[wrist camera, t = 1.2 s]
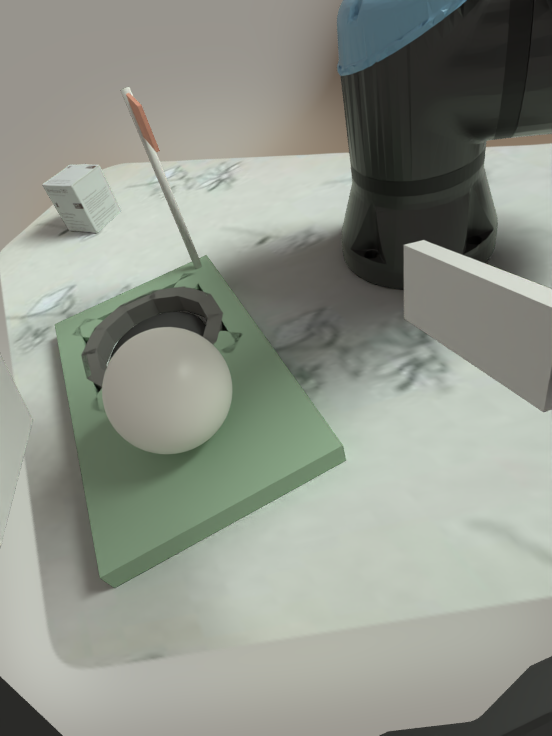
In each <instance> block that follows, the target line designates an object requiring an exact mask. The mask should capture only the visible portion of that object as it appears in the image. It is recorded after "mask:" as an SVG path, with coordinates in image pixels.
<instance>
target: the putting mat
mask: <svg viewBox="0 0 552 736" xmlns="http://www.w3.org/2000/svg"><path fill="white" fill-rule="evenodd" d="M121 93H122V95H123V98H124V100H125V103H126V105H127V107H128V109H129V112H130V114H131V117H132V119H133V122H134V124H135V126H136V128H137V131H138V133H139V136H140V138H141V141H142V143H143V145H144V148H145V150H146V152H147V155H148V157H149V160H150V162H151V164H152V167H153V169H154V172H155V174H156V176H157V179H158V181H159V183H160V186H161V188H162V191H163V193H164V195H165V198H166V200H167V202H168V205H169V207H170V210H171V212H172V214H173V217H174V219H175V221H176V224H177V226H178V229H179V231H180V233H181V236H182V238H183V240H184V243H185V245H186V248H187V250H188V252H189V255H190V257H191V260H192V262H190V263H188V264H186V265H184V266H181V267H179V268H177V269H175V270H173V271H170V272H168V273H166V274H164V275H162V276H159V277H157V278H155V279H153V280H151V281H149V282H146V283H144V284H142V285H140V286H138V287H135V288H133V289H131V290H129V291H127V292H124V293H122V294H120V295H118V296H116V297H114V298H111V299H109V300H107V301H105V302H103V303H100V304H98V305H96V306H94V307H92V308H89V309H87V310H85V311H83V312H81V313H79V314H76V315H74V316H72V317H70V318H68V319H65V320H63V321H61V322H59V323H57V324H55V329H56V335H57V340H58V346H59V351H60V357H61V363H62V368H63V374H64V380H65V385H66V391H67V396H68V402H69V408H70V413H71V419H72V424H73V430H74V436H75V441H76V447H77V453H78V458H79V464H80V469H81V475H82V481H83V486H84V492H85V497H86V503H87V509H88V514H89V520H90V525H91V531H92V537H93V542H94V548H95V554H96V559H97V565H98V570H99V576H100V578H101V579H102V580H104V581H105V582H106V583H108V584H109V585H111V586H112V587H113V588H116V587H117V586H119V585H121V584H123V583H125V582H126V581H128V580H130V579H132V578H134V577H135V576H137V575H139V574H141V573H143V572H145V571H146V570H148V569H150V568H152V567H154V566H155V565H157V564H159V563H161V562H163V561H164V560H166V559H168V558H170V557H172V556H174V555H175V554H177V553H179V552H181V551H183V550H184V549H186V548H188V547H190V546H192V545H193V544H195V543H197V542H199V541H201V540H203V539H204V538H206V537H208V536H210V535H212V534H213V533H215V532H217V531H219V530H221V529H222V528H224V527H226V526H228V525H230V524H232V523H233V522H235V521H237V520H239V519H241V518H242V517H244V516H246V515H248V514H250V513H251V512H253V511H255V510H257V509H259V508H261V507H262V506H264V505H266V504H268V503H270V502H271V501H273V500H275V499H277V498H279V497H281V496H282V495H284V494H286V493H288V492H290V491H291V490H293V489H295V488H297V487H299V486H300V485H302V484H304V483H306V482H308V481H310V480H311V479H313V478H315V477H317V476H319V475H320V474H322V473H324V472H326V471H328V470H329V469H331V468H333V467H335V466H337V465H339V464H340V463H342V462H344V461H346V458H345V453H344V448H343V445H342V443H341V442H340V441H339V439H338V438H337V436H336V435H335V434H334V432H333V431H332V429H331V428H330V427H329V425H328V424H327V423H326V421H325V420H324V418H323V417H322V416H321V414H320V413H319V411H318V410H317V409H316V407H315V406H314V404H313V403H312V402H311V400H310V399H309V397H308V396H307V395H306V393H305V392H304V390H303V389H302V388H301V386H300V385H299V383H298V382H297V381H296V379H295V378H294V376H293V375H292V374H291V372H290V371H289V369H288V368H287V367H286V365H285V364H284V363H283V361H282V360H281V358H280V357H279V356H278V354H277V353H276V351H275V350H274V349H273V347H272V346H271V344H270V343H269V342H268V340H267V339H266V337H265V336H264V335H263V333H262V332H261V330H260V329H259V328H258V326H257V325H256V323H255V322H254V321H253V319H252V318H251V316H250V315H249V314H248V312H247V311H246V309H245V308H244V307H243V305H242V304H241V302H240V301H239V300H238V298H237V297H236V296H235V294H234V293H233V291H232V290H231V289H230V287H229V286H228V284H227V283H226V282H225V280H224V279H223V277H222V276H221V275H220V273H219V272H218V270H217V269H216V268H215V266H214V265H213V263H212V262H211V261H210V259H209V258H208V256H207V255H205V256H203V257H201V258H199V257H198V255H197V252H196V250H195V247H194V245H193V242H192V240H191V237H190V235H189V232H188V230H187V228H186V225H185V223H184V220H183V218H182V215H181V213H180V210H179V208H178V205H177V203H176V200H175V198H174V195H173V193H172V191H171V188H170V186H169V183H168V181H167V178H166V176H165V173H164V171H163V168H162V166H161V163H160V161H159V159H158V156H157V154H156V152H158V151H160V150H159V148H158V145H157V143H156V140H155V138H154V135H153V133H152V131H151V128H150V125H149V123H148V120H147V118H146V115H145V113H144V111H143V108H142V106H141V104H140V103H139V102H138V101H137V100H136V99H135V98H134V97H133V94H132V92H131V90H130V87H126V88H123V89H122V90H121ZM183 310H186V311H189V312H192V313H195V314H198V315H201V316H204V317H205V318H206V319H207V323H206V327H205V325H204V323H203V322H202V321H201V320H200V319H199V318H198V317H196V316H195V315H193V314H190V313H186V312H175V311H183ZM166 312H167V313H166ZM159 313H162V314H159ZM157 314H158V315H157ZM136 324H137V325H136ZM134 325H135V326H134ZM133 326H134V327H133ZM132 327H133V328H132ZM161 327H175V328H182V329H186V330H189V331H192V332H194V333H196V334H198V335H200V336H202V337H204V338H205V339H207V340H208V341H209V342H210V343H211V344H212V345H214V346H215V347H216V348H217V350H218V351H219V352H220V354H221V355H222V356H223V358H224V360H225V362H226V364H227V366H228V368H229V371H230V375H231V379H232V401H231V405H230V409H229V412H228V414H227V417H226V419H225V420H224V422H223V424H222V425H221V427H220V428H219V430H218V431H217V432H216V433H215V434H214V435H213V436H212V437H211V438H210V439H209V440H207V441H206V442H205V443H203V444H201V445H200V446H198V447H196V448H194V449H192V450H189V451H186V452H182V453H177V454H156V453H151V452H147V451H144V450H142V449H139V448H137V447H135V446H133V445H132V444H130V443H129V442H128V441H126V440H125V439H124V438H123V437H122V436H121V435H120V434H119V433H118V432H117V431H116V430H115V429H114V427H113V426H112V424H111V423H110V421H109V419H108V417H107V414H106V412H105V409H104V404H103V399H102V384H103V378H104V374H105V371H106V368H107V366H106V363H107V361H108V359H109V356H110V354H111V352H112V349H113V347H114V345H115V343H116V342H117V341H118V340H119V339H120V338H121V337H122V338H121V339H120V340H119V341H118V343H117V344H116V346H115V348H114V350H113V352H112V355H111V358H112V357H113V355H114V354H115V353H116V351H117V350H118V349H119V348H120V347H121V346H122V345H123V344H124V343H125V342H126V341H128V340H129V339H130V338H132V337H134V336H135V335H137V334H139V333H141V332H144V331H147V330H150V329H154V328H161Z"/></svg>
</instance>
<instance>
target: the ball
mask: <svg viewBox="0 0 552 736" xmlns="http://www.w3.org/2000/svg"><path fill="white" fill-rule="evenodd" d="M102 399H103V404H104V409H105V412H106V414H107V417H108V419H109V421H110V423H111V424H112V426H113V427H114V429H115V430H116V431H117V432H118V433H119V434H120V435H121V436H122V437H123V438H124V439H125V440H126V441H128V442H129V443H130V444H132V445H133V446H135V447H137V448H139V449H142V450H144V451H147V452H151V453H156V454H177V453H182V452H186V451H189V450H192V449H194V448H196V447H198V446H200V445H201V444H203V443H205V442H206V441H207V440H209V439H210V438H211V437H212V436H213V435H214V434H215V433H216V432H217V431H218V430H219V428H220V427H221V425H222V424H223V422H224V420H225V419H226V417H227V414H228V412H229V409H230V405H231V401H232V379H231V375H230V371H229V368H228V366H227V364H226V362H225V360H224V358H223V356H222V355H221V354H220V352H219V351H218V350H217V348H216V347H215V346H214V345H212V344H211V343H210V342H209V341H208V340H207V339H205V338H204V337H202V336H200V335H198V334H196V333H194V332H192V331H189V330H186V329H182V328H175V327H161V328H154V329H150V330H147V331H144V332H141V333H139V334H137V335H135V336H134V337H132V338H130V339H129V340H128V341H126V342H125V343H124V344H123V345H122V346H121V347H120V348H119V349H118V350H117V351H116V353H115V354H114V355H113V357H112V358H111V360H110V362H109V364H108V366H107V368H106V371H105V374H104V378H103V384H102Z"/></svg>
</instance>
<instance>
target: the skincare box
mask: <svg viewBox="0 0 552 736" xmlns="http://www.w3.org/2000/svg"><path fill="white" fill-rule="evenodd" d="M42 186H43V187H44V189H45V191H46V192H47V194H48V196H49V198H50V199H51V201H52V202H53V204H54V206H55V208H56V209H57V211H58V213H59V215H60V216H61V218H62V220H63V221H64V223H65V225H66V226H67V228H68V229H69V230H70V231H82V232H91V233H98V232H99V231H100V230H102V229H103V228H104V227H105V226H106V225H107V224H108V223H109V222H110V221H111V220H112V219H113V218H115V217H116V216H117V215H118V214H119V213H120V212H121V209H120V207H119V205H118V203H117V201H116V198H115V196H114V194H113V192H112V190H111V188H110V186H109V184H108V182H107V180H106V178H105V176H104V174H103V172H102V170H101V168H100V166H99V165H88V164H80V165H72V164H71V165H69V166H67V167H66V168H64V169H63V170H62V171H60V172H59V173H58V174H56V175H55V176H53V177H52V178H50V179H49V180H48V181H46V182H45V183H44V184H43V185H42Z"/></svg>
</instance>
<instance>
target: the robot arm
mask: <svg viewBox="0 0 552 736" xmlns="http://www.w3.org/2000/svg"><path fill="white" fill-rule="evenodd" d="M337 31H338V50H339V62H338V73H339V74H340V75H341V83H342V92H343V101H344V110H345V118H346V127H347V136H348V145H349V154H350V162H351V172H352V187H351V191H350V196H349V200H348V205H347V209H346V214H345V218H344V223H343V228H342V237H341V238H342V247H343V254H344V259H345V261H346V263H347V265H348V267H349V268H350V269H351V270H352V271H353V272H354V273H355V274H356V275H358V276H359V277H361V278H363V279H364V280H367V281H369V282H371V283H374V284H377V285H381V286H385V287H390V288H399V289H404V319H406V320H407V321H408V322H410V323H411V324H413V325H414V326H416V327H417V328H419V329H420V330H422V331H423V332H425V333H426V334H428V335H429V336H431V337H432V338H434V339H435V340H437V341H438V342H440V343H441V344H443V345H444V346H446V347H447V348H449V349H450V350H452V351H453V352H455V353H456V354H458V355H459V356H461V357H462V358H464V359H465V360H467V361H468V362H469V363H471V364H472V365H474V366H475V367H477V368H478V369H480V370H481V371H483V372H484V373H486V374H487V375H489V376H490V377H492V378H493V379H495V380H496V381H498V382H499V383H501V384H502V385H504V386H505V387H507V388H508V389H510V390H511V391H513V392H514V393H516V394H517V395H519V396H520V397H522V398H523V399H525V400H526V401H528V402H529V403H530V404H532V405H533V406H535V407H536V408H538V409H539V410H541V411H542V412H546V411H549V410H552V289H551V288H549V287H546V286H543V285H541V284H538V283H535V282H532V281H530V280H527V279H525V278H522V277H519V276H517V275H514V274H511V273H509V272H506V271H503V270H501V269H498V268H496V267H493V266H490V265H488V264H485V262H486V261H487V260H488V259H489V257H490V256H491V254H492V252H493V250H494V247H495V242H496V234H497V226H498V223H497V215H496V211H495V207H494V203H493V199H492V196H491V192H490V188H489V184H488V180H487V177H486V173H485V169H484V159H485V149H486V141H487V140H493V139H502V138H511V137H522V136H532V135H543V134H552V0H343V1H342V3H341V6H340V8H339V12H338V17H337ZM32 422H33V419H32V417H31V415H30V413H29V411H28V409H27V407H26V405H25V403H24V401H23V399H22V397H21V395H20V393H19V391H18V389H17V386H16V384H15V382H14V380H13V378H12V376H11V374H10V372H9V370H8V368H7V366H6V364H5V362H4V360H3V358H2V356H1V354H0V547H1V543H2V539H3V535H4V531H5V528H6V523H7V519H8V516H9V512H10V508H11V504H12V500H13V496H14V492H15V489H16V484H17V481H18V476H19V473H20V469H21V465H22V461H23V457H24V453H25V449H26V445H27V442H28V438H29V434H30V430H31V426H32ZM0 736H62V734H60V733H59V732H58V731H57V730H56V729H55V728H54V727H53V726H52V725H51V724H50V723H49V722H48V721H47V720H45V718H43V716H41V715H40V714H39V713H38V712H37V711H36V710H35V709H34V708H33V707H32V706H31V705H30V704H29V703H28V702H27V701H25V699H23V698H22V697H21V696H20V695H19V694H18V693H17V692H16V691H15V690H14V689H13V688H12V687H11V686H10V685H9V684H8V683H7V682H6V681H5V680H3V679H2V678H1V677H0ZM380 736H552V656H551V657H549V658H547V659H545V660H543V661H540V662H538V663H536V664H534V665H532V666H530V667H529V668H528V669H527V670H526V671H525V672H524V673H523V674H522V675H521V676H520V677H519V678H518V679H517V680H516V681H515V682H514V683H513V684H512V685H511V686H510V687H509V688H508V689H507V690H506V691H505V692H504V694H502V696H500V697H499V698H498V700H497V701H496V702H495V703H494V704H493V705H492V706H491V707H490V708H489V709H488V710H487V711H486V712H485V713H484V714H483V715H482V716H481V717H479V718H478V719H476V720H474V721H471V722H465V723H457V724H449V725H440V726H431V727H423V728H414V729H406V730H398V731H389V732H386V733H384V734H382V735H380Z"/></svg>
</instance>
